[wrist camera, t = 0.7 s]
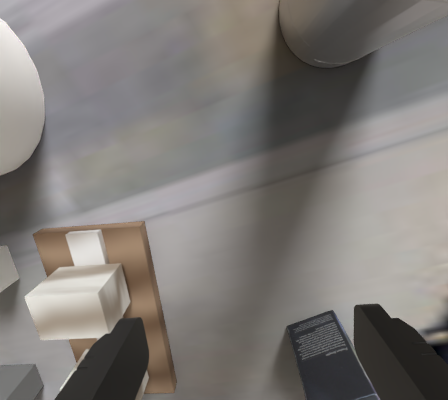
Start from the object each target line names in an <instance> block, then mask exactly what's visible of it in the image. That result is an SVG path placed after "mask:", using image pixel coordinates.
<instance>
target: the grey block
mask: <svg viewBox="0 0 448 400" xmlns="http://www.w3.org/2000/svg"><path fill="white" fill-rule="evenodd" d="M43 386H44V385H43V382H42V380H41V377H40V375H39V372H38V370H37V367H36V365H35V364H27V365H2V366H1V367H0V400H34V398H35V397H36V396H37V394H38V393H39V391H40V390H41V389H42V387H43Z"/></svg>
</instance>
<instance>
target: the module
mask: <svg viewBox="0 0 448 400" xmlns="http://www.w3.org/2000/svg"><path fill="white" fill-rule="evenodd" d="M18 279H19V275H18V272H17V270H16V267H15V264H14V262H13V259H12V257H11V254H10V251H9V249H8V246H7V245H4V246H0V292H2V291H3V290H4V289H6V288H7V287H8V286H10V285H11V284H12V283H14V282H15V281H17V280H18Z"/></svg>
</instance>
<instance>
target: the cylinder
mask: <svg viewBox="0 0 448 400" xmlns="http://www.w3.org/2000/svg"><path fill="white" fill-rule="evenodd" d="M44 122H45V105H44V93H43V90H42V86H41V82H40V79H39V75H38V71H37V69H36V67H35V65H34V63H33V61H32V59H31V58H30V56H29V54H28V52H27V50H26V48H25V46H24V45H23V43H22V42H21V41H20V40H19V38H18V37H17V36H16V35H15V33H14V32H13V31H12V30H11V28H10V27H9V26H8V25H7V23H6V22H4V21H3V20H2V19H1V18H0V176H1V175H3V174H6V173H8V172H11V171H13V170H16V169H17V168H18V167H20V166H21V165H22V164H23V163H24V162H25V161H26V160H28V159H29V158H30V157H31V155H32V153H33V152H34V150H35V148H36V147H37V145H38V143H39V142H40V139H41V135H42V130H43V126H44Z"/></svg>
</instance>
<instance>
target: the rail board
mask: <svg viewBox="0 0 448 400" xmlns="http://www.w3.org/2000/svg"><path fill="white" fill-rule="evenodd" d="M33 237H34V240H35V243H36V245H37V248H38V251H39V254H40V257H41V260H42V263H43V266H44V269H45V272H46V275H47V278H46V279H45V280H44V281H43V282H41V283H40V284H39V285H38V286H37V287H35V288H34V289H33V290H32V291H31V292H30V293H28V294H27V295H26V296H25V297H24V298H25V300H26V303H27V306H28V308H29V311H30V313H31V316H32V319H33V321H34V324H35V326H36V329H37V332H38V334H39V337H40V339H41V340H59V339H69V342H70V345H71V347H72V350H73V353H74V356H75V359H76V362H77V364H76V365H75V367H74V368H73V370H72V371H71V373H70V374H69V376H68V378H67V379H66V381H65V382H64V384H63V385H62V387H61V388H60V391H61V390H62V388H63V387H64V385H65V384H66V383H67V381H68V380H69V378H70V377H71V375H72V374H73V372H74V371H75V370H77V367H78V365H79V364H80V362H81V361H82V360H83V359H84V357H85V355H86V354H87V352H88V351H89V349H90V348H91V347H92V345H93V344H94V343H95V342H96V341H98V340H99V339H100V338H101V337H102V336H103V335H105V334H106V333H111V331H112V330H113V328H114V327H115V325H116V324H117V322H118V321H119V319H121V318H135V317H141V318H142V320H143V324H144V329H145V333H146V338H147V343H148V348H149V363H148V367H147V370H146V373H145V375H144V378H143V381H142V383H141V386H140V388H139V391H138V393H137V396H136V399H135V400H142V397H143V394H147V393H174V392H175V387H176V383H177V381H176V376H175V371H174V366H173V361H172V356H171V351H170V346H169V341H168V336H167V331H166V326H165V321H164V316H163V311H162V306H161V301H160V296H159V292H158V287H157V282H156V277H155V272H154V267H153V262H152V257H151V252H150V247H149V242H148V237H147V232H146V227H145V222H144V221H141V222H128V223H114V224H101V225H88V226H74V227H61V228H47V229H41V230H40V231H38V232H36V233H34V234H33Z"/></svg>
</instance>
